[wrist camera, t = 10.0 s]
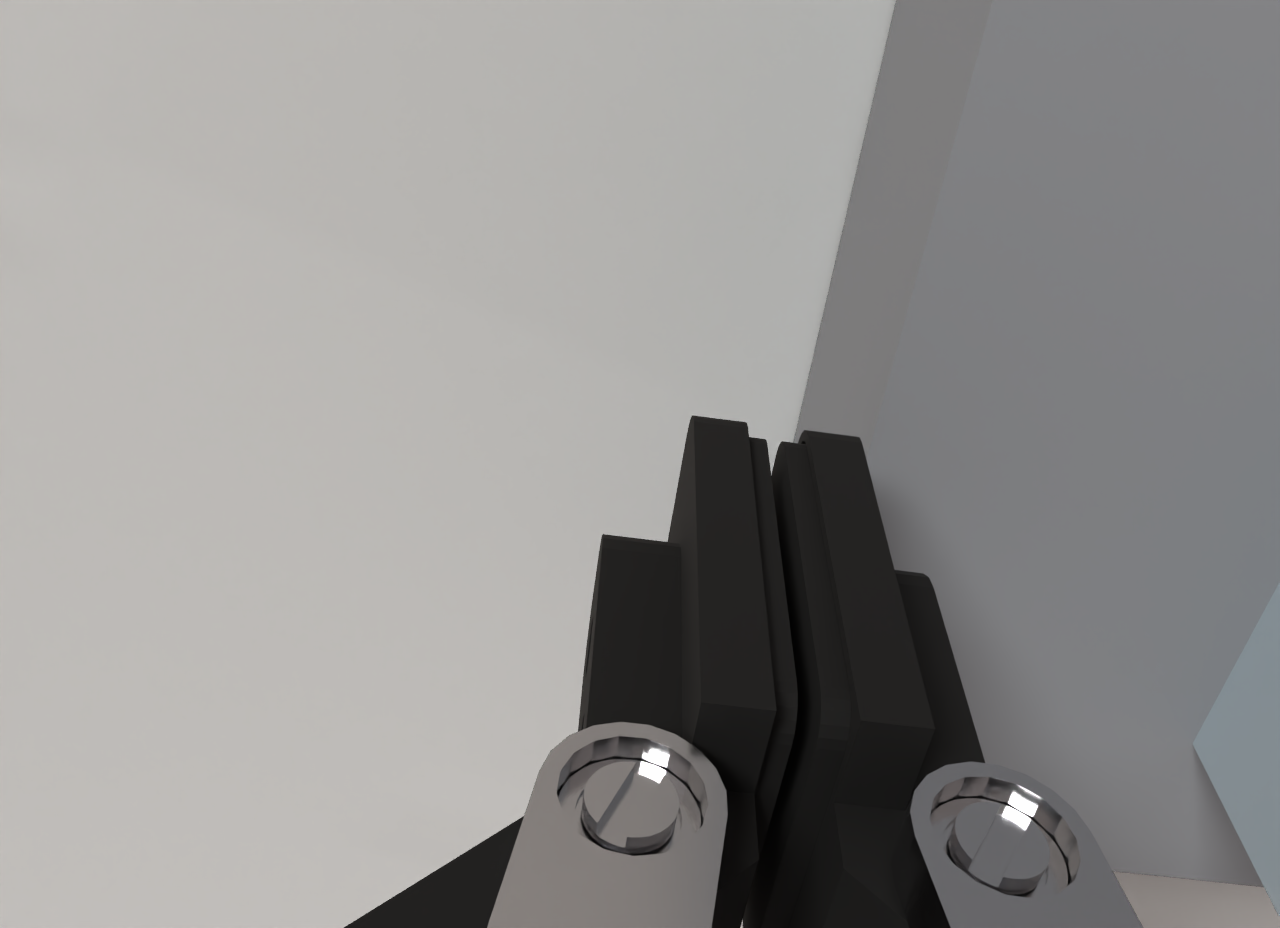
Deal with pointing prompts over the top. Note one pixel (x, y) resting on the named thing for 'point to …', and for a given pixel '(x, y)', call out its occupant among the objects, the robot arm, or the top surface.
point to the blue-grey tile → (1250, 748)
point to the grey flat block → (1075, 381)
